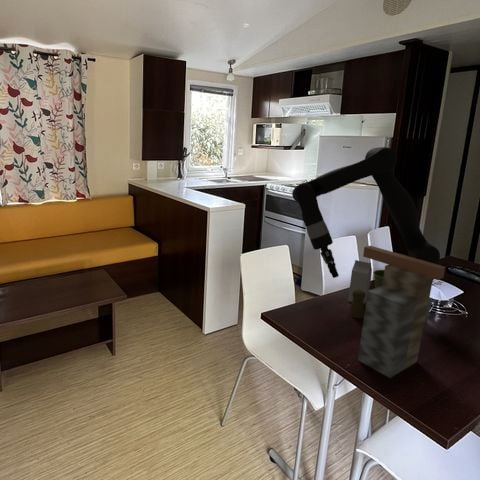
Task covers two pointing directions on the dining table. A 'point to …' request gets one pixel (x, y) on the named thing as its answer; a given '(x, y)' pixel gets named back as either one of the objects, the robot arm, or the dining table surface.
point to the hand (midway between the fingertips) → (334, 274)
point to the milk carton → (360, 278)
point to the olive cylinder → (357, 304)
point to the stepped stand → (394, 321)
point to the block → (405, 262)
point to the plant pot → (378, 277)
